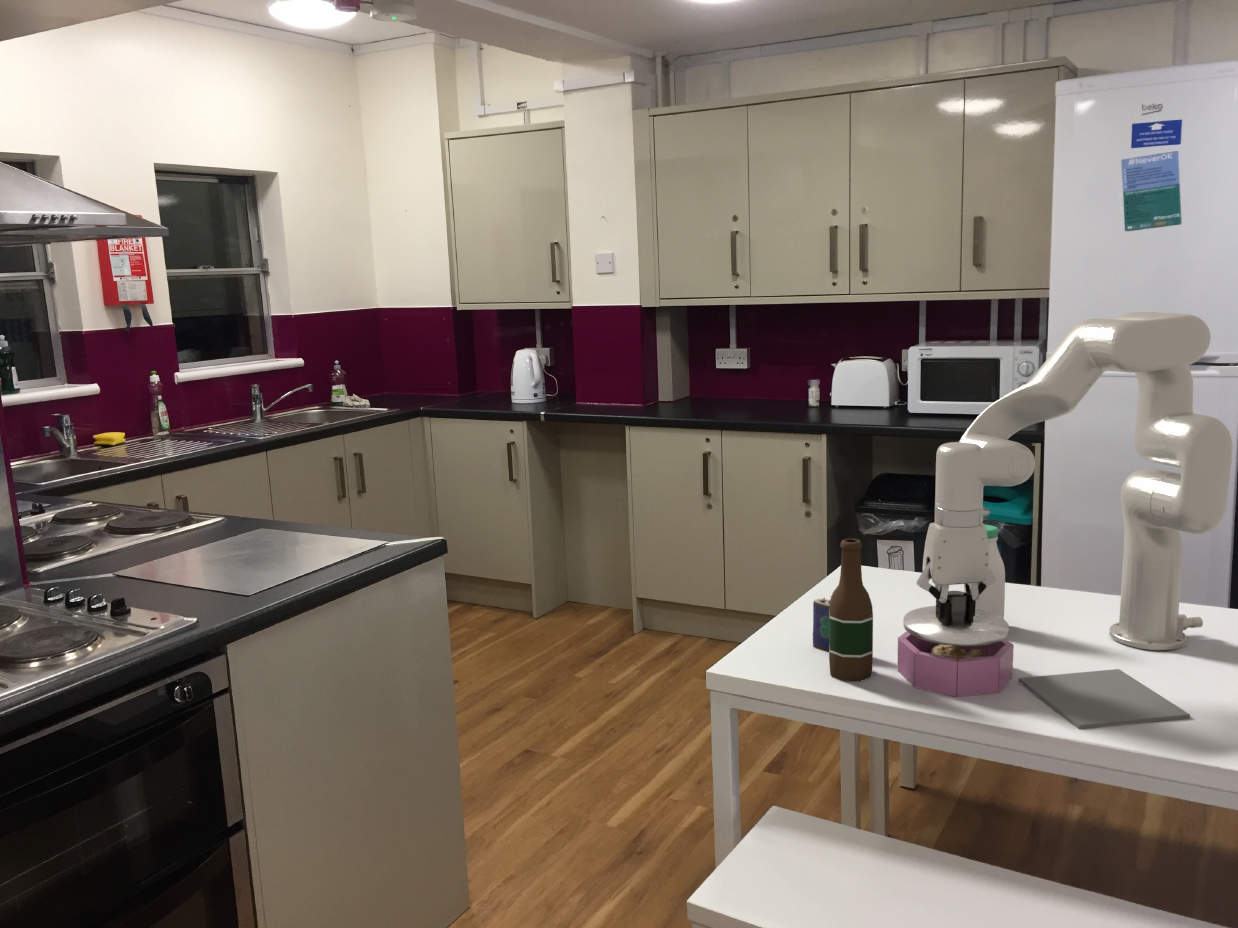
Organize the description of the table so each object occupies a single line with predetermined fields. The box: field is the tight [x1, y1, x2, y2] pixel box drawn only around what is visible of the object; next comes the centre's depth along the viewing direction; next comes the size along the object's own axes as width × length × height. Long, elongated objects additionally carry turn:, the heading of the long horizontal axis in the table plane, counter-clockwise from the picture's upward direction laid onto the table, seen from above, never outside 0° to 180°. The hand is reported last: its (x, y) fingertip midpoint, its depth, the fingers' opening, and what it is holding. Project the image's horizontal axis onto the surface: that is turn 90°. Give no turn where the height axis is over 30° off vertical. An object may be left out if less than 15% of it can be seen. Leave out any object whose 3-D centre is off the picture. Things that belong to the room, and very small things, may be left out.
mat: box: [1017, 668, 1191, 730], centre depth 162 cm, size 18×18×1 cm
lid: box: [902, 590, 1010, 646], centre depth 171 cm, size 17×17×6 cm
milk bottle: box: [961, 524, 1006, 620], centre depth 193 cm, size 8×8×20 cm
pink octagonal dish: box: [897, 630, 1015, 698], centre depth 173 cm, size 17×17×6 cm
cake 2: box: [930, 644, 984, 659], centre depth 175 cm, size 10×10×5 cm
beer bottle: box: [828, 538, 874, 683], centre depth 173 cm, size 8×8×24 cm
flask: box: [812, 594, 832, 653], centre depth 185 cm, size 9×3×11 cm, turn 50°
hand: (955, 620), depth 172 cm, fingers closed on lid, 3 cm apart
